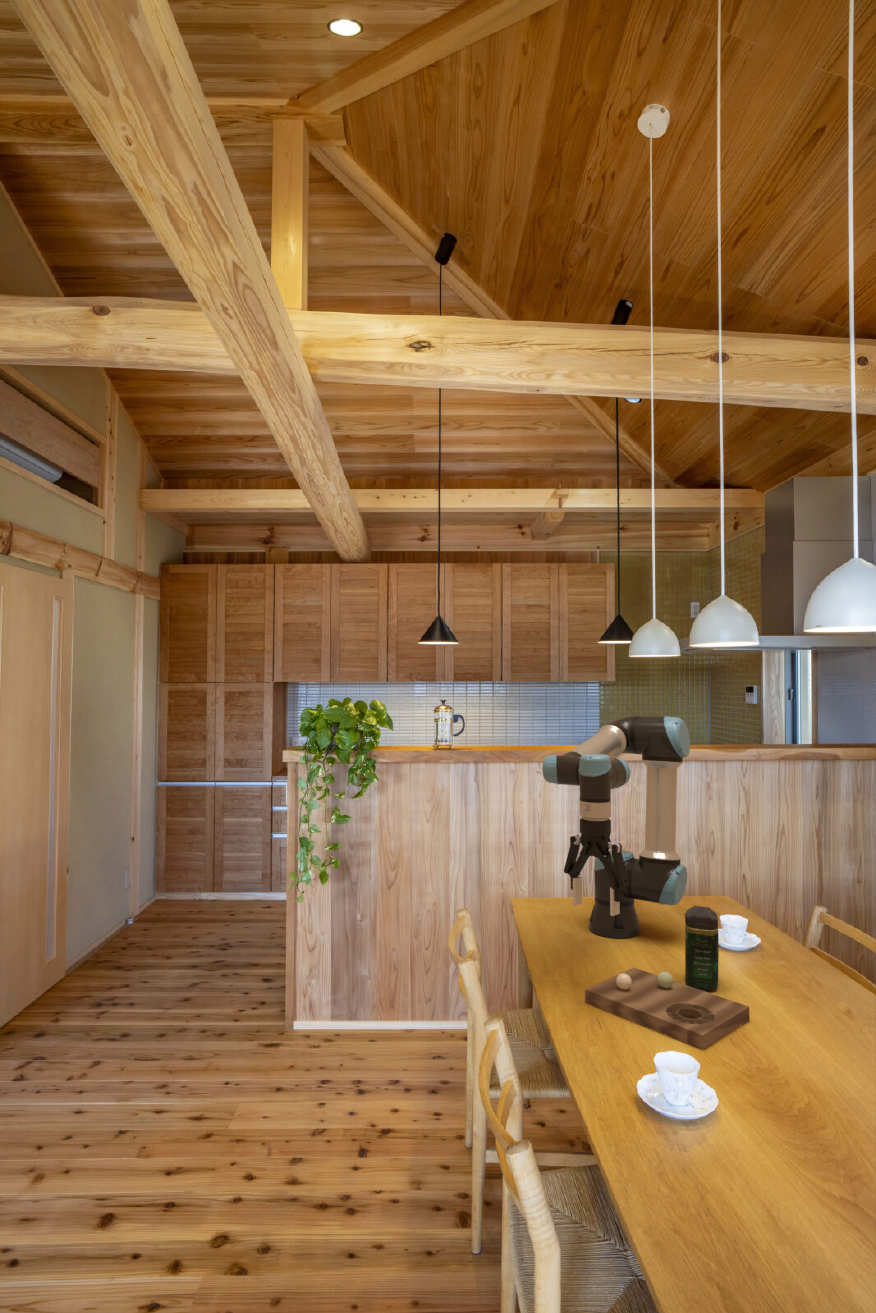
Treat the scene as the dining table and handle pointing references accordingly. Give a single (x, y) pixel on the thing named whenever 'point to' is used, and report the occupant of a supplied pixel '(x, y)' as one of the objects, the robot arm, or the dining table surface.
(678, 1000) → the board
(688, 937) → the coffee jar
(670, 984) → the sage ball
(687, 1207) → the dining table surface
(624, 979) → the cream ball
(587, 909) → the dining table surface
